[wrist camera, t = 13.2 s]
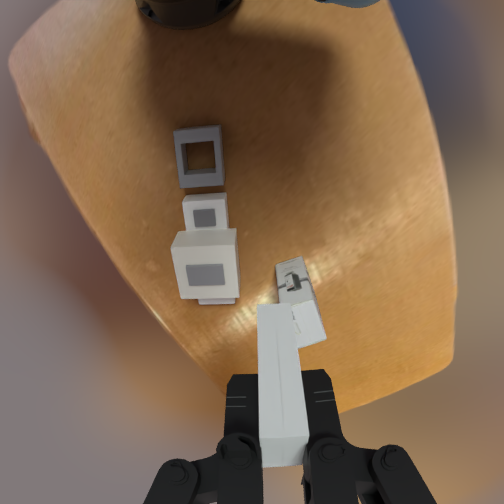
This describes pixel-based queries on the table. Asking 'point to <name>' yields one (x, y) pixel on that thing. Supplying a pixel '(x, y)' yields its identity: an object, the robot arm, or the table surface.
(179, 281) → the plug
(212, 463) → the robot arm
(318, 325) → the ink box
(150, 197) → the table surface
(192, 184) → the plug rest
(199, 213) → the socket
